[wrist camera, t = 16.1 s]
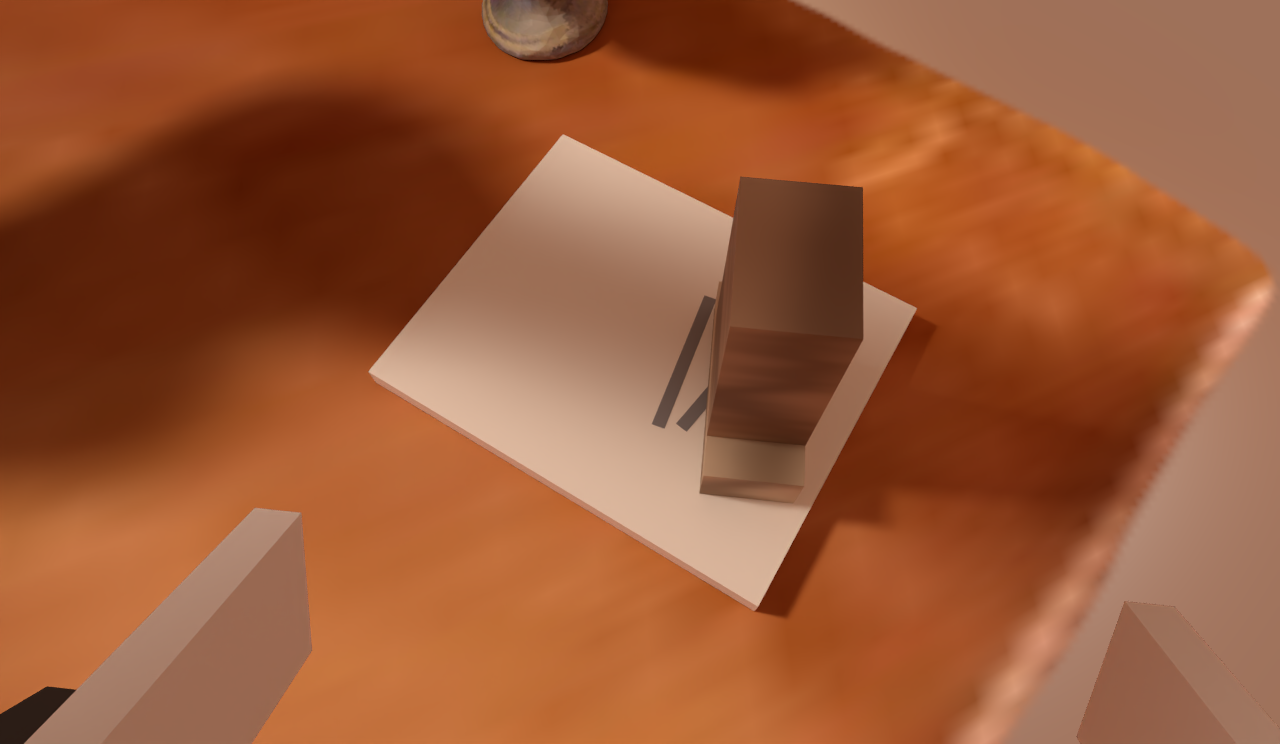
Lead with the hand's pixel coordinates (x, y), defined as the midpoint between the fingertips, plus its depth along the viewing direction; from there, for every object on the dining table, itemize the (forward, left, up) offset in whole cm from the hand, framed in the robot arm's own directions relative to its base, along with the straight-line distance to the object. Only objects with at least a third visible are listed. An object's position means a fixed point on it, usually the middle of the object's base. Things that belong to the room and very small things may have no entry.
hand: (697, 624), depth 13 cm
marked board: (-8, +13, -21) cm, 26 cm away
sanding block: (-3, +13, -20) cm, 24 cm away
